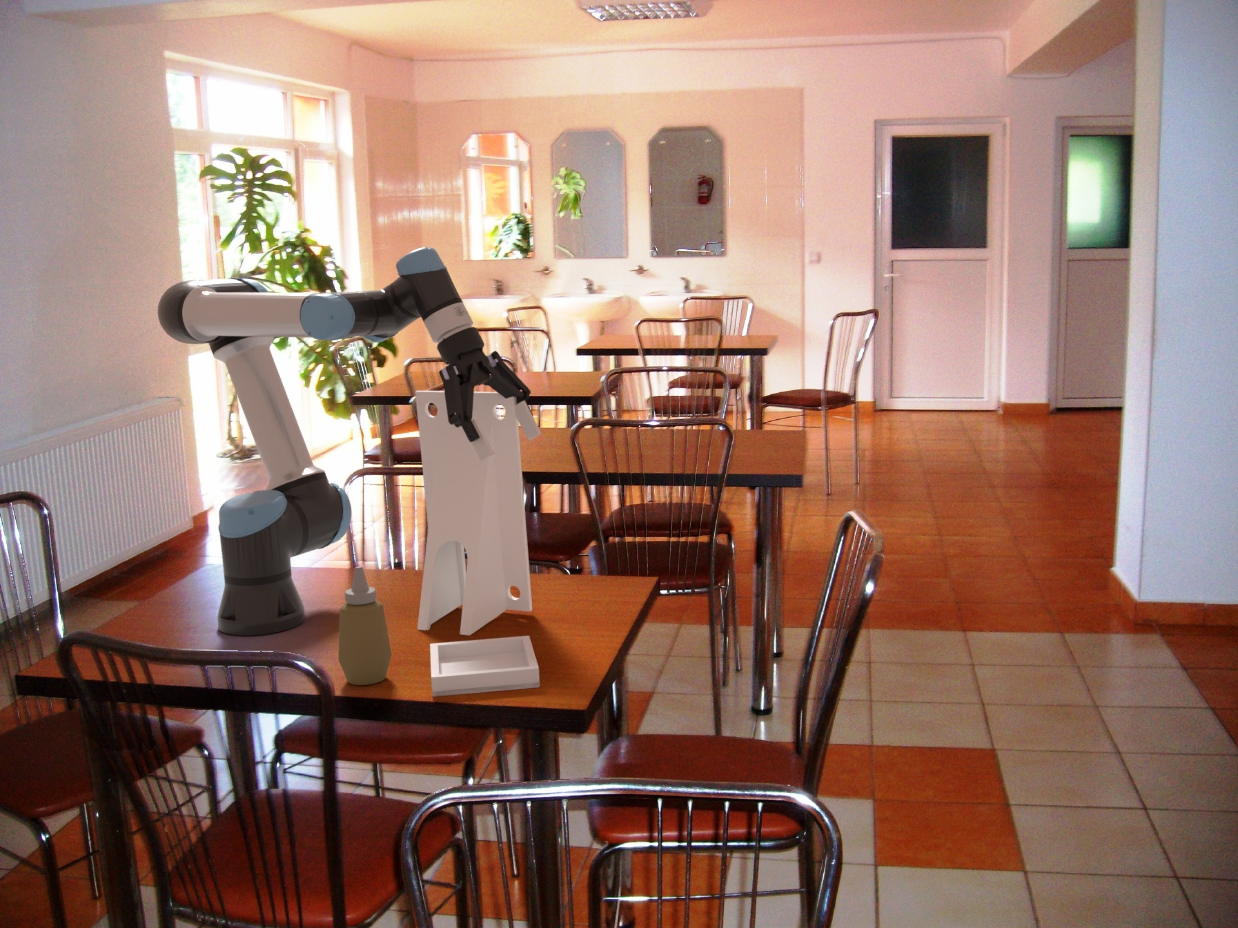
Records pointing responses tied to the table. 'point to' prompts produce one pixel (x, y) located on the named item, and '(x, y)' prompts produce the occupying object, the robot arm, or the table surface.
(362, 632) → the squeeze bottle
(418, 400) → the white bracket
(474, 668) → the tray
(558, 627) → the table surface
